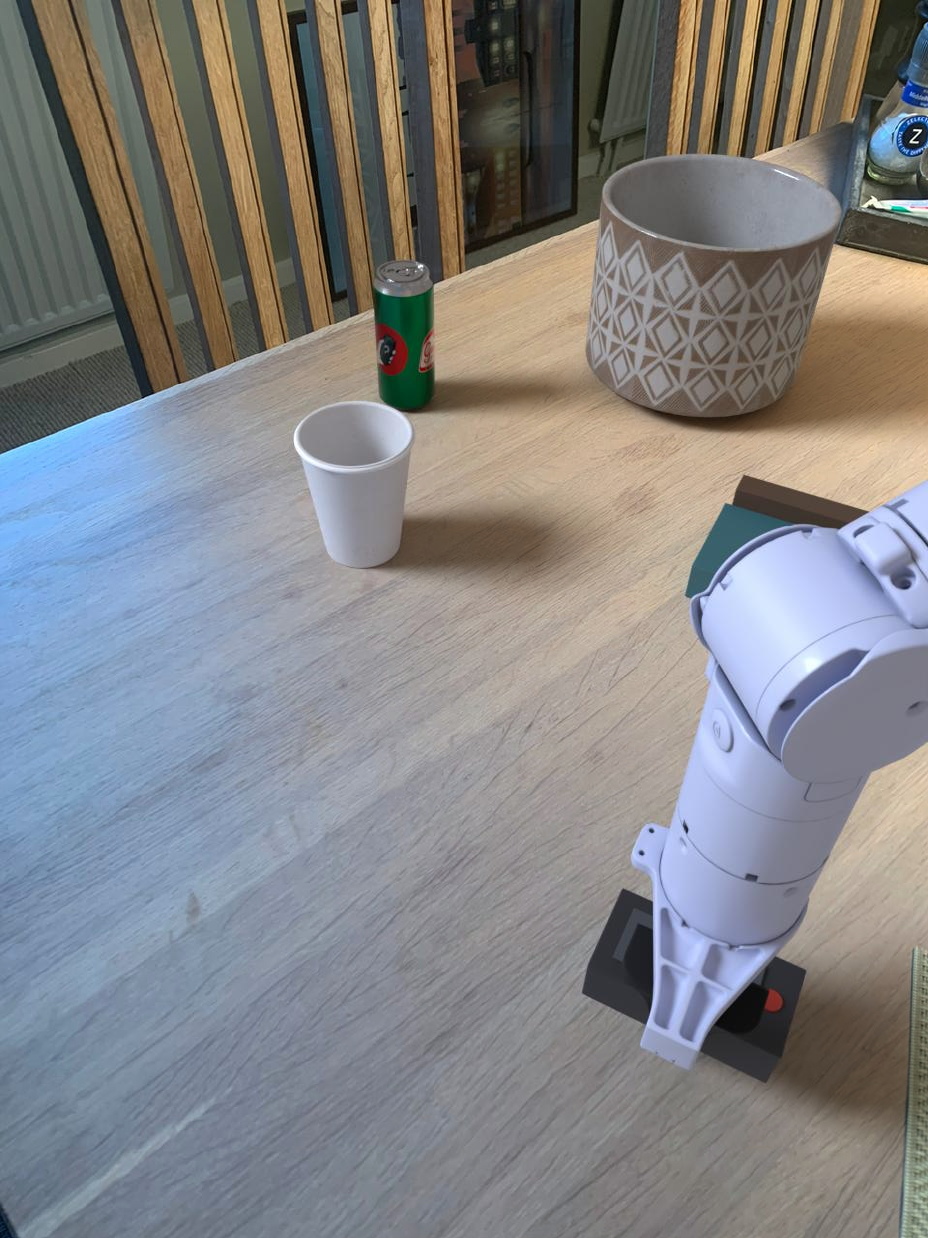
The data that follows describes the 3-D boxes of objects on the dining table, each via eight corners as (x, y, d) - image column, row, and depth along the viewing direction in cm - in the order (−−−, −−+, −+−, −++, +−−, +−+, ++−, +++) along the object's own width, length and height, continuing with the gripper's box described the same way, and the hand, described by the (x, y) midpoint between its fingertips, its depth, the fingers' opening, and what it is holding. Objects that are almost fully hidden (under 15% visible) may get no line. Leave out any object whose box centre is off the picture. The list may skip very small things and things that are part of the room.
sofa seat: (837, 648, 68) (857, 601, 65) (684, 596, 72) (695, 549, 68) (867, 562, 74) (886, 516, 71) (725, 518, 78) (737, 472, 75)
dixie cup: (300, 517, 77) (286, 407, 70) (405, 501, 79) (401, 392, 72) (316, 588, 72) (302, 477, 65) (429, 570, 73) (427, 459, 66)
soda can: (434, 414, 88) (432, 286, 79) (377, 413, 88) (369, 284, 79) (436, 383, 91) (434, 257, 83) (381, 382, 91) (374, 256, 83)
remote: (791, 998, 47) (808, 968, 45) (766, 1084, 45) (782, 1057, 42) (615, 917, 50) (622, 885, 48) (581, 994, 48) (587, 964, 45)
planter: (694, 460, 83) (734, 273, 72) (541, 364, 94) (554, 188, 82) (834, 384, 92) (890, 206, 80) (680, 304, 103) (709, 137, 91)
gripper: (710, 652, 43) (662, 828, 52) (579, 930, 33) (551, 1081, 43) (878, 711, 40) (795, 884, 50) (787, 1027, 31) (708, 1164, 41)
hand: (692, 980), depth 46 cm, fingers closed on remote, 4 cm apart
